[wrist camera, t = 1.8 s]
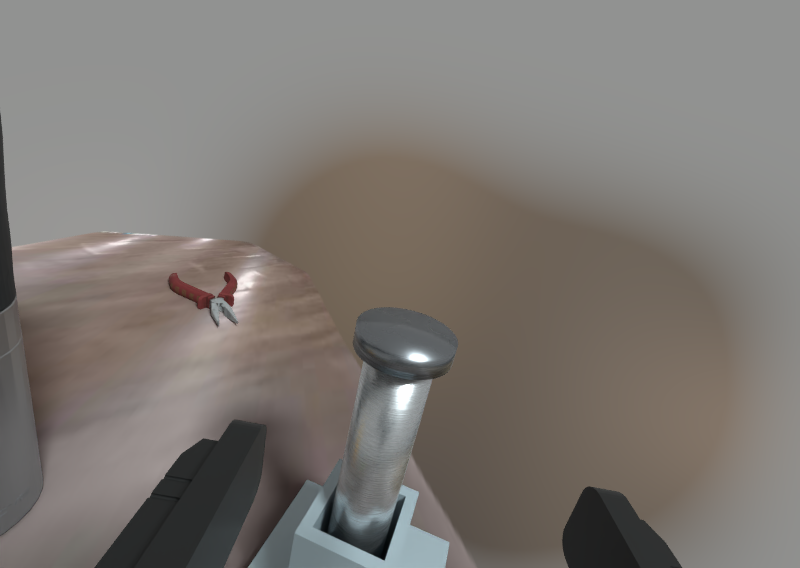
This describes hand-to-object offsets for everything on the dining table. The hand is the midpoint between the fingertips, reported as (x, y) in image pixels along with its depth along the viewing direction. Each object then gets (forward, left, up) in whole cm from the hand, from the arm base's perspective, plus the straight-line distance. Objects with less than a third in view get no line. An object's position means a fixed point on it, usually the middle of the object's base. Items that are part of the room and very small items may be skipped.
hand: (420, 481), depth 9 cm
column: (-3, +11, -23) cm, 25 cm away
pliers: (-46, +44, -25) cm, 68 cm away
